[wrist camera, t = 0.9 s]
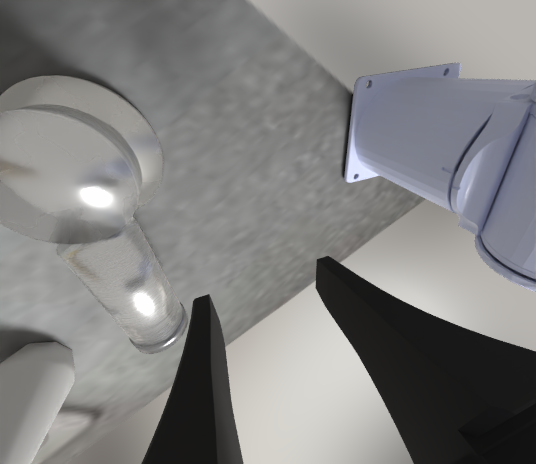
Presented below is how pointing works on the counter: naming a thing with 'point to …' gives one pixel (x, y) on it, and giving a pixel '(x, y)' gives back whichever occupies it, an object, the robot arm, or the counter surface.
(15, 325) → the counter surface
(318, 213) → the counter surface
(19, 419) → the salt shaker
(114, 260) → the elbow
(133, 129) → the duct stub
